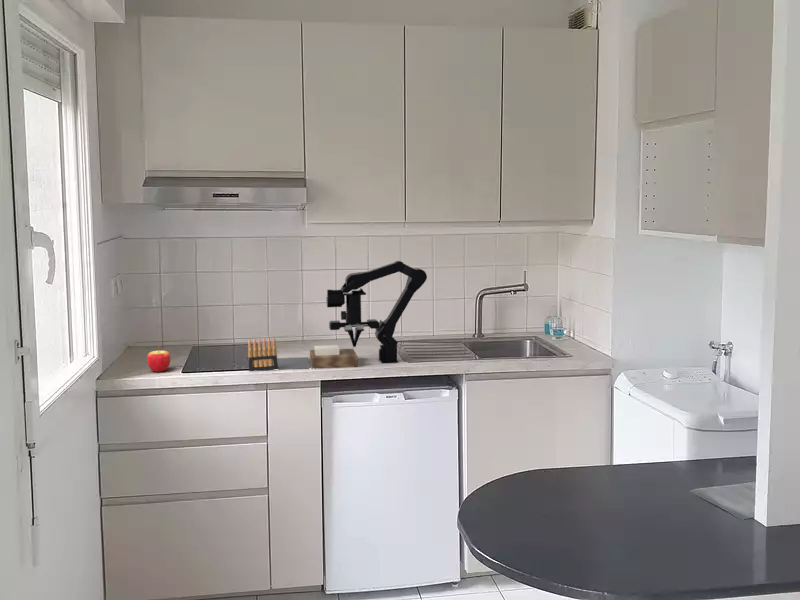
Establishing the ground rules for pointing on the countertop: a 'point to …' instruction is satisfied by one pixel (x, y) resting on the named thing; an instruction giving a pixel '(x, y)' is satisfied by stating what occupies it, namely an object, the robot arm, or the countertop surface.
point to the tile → (326, 350)
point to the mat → (293, 363)
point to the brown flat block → (335, 359)
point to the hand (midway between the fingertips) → (354, 346)
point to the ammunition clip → (262, 355)
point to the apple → (158, 360)
